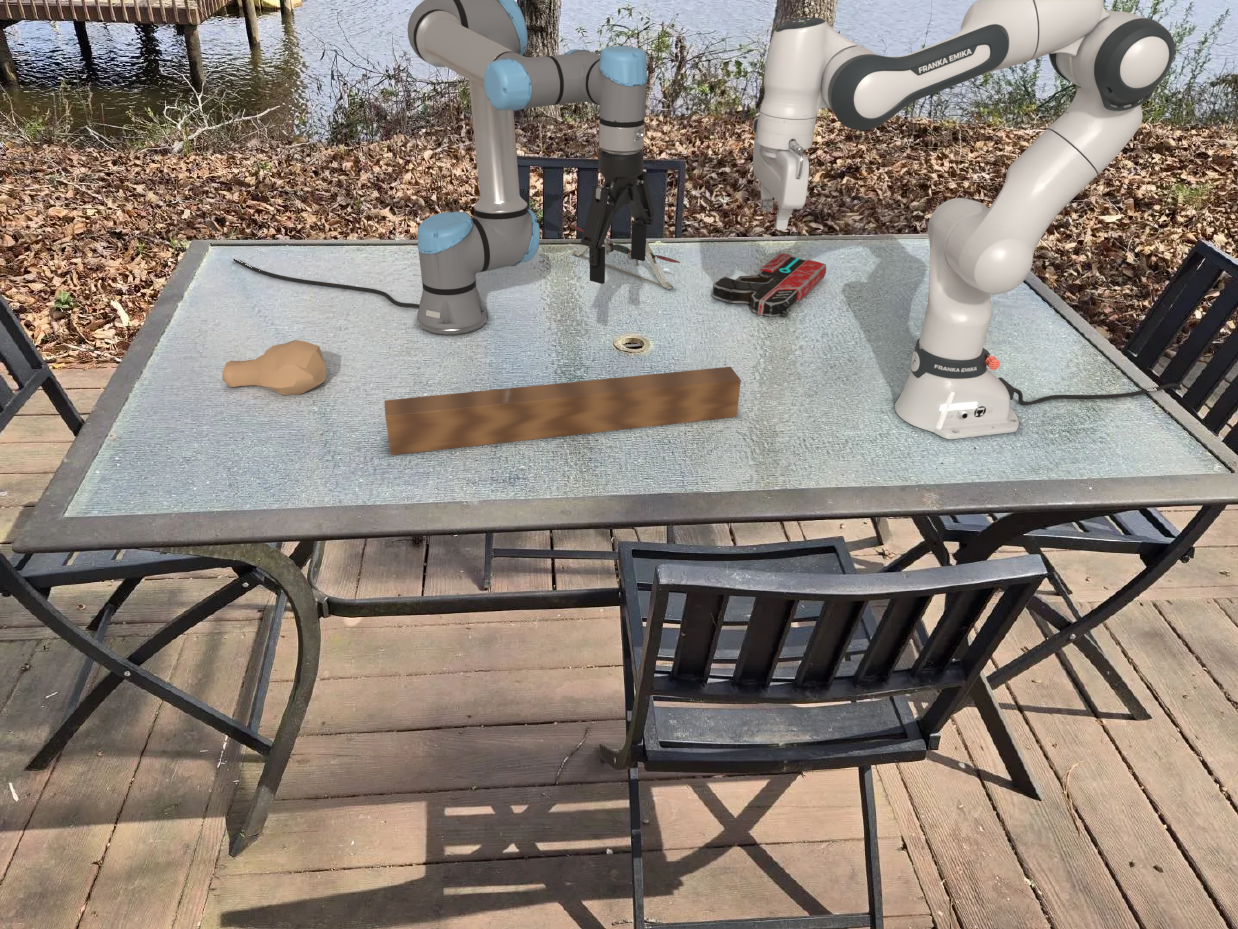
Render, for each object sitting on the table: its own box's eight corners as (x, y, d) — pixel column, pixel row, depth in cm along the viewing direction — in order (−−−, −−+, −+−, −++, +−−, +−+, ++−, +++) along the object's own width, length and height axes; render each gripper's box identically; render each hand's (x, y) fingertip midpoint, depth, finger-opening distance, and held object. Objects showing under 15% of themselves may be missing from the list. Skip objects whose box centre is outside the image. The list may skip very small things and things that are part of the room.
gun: (708, 284, 207) (784, 305, 199) (760, 245, 229) (831, 262, 221) (706, 302, 209) (781, 323, 201) (758, 261, 231) (828, 278, 223)
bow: (681, 290, 215) (684, 251, 209) (676, 292, 214) (679, 253, 208) (570, 250, 236) (570, 213, 230) (565, 252, 235) (565, 215, 229)
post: (390, 455, 151) (385, 415, 147) (389, 439, 156) (384, 400, 151) (736, 417, 165) (741, 379, 161) (726, 402, 169) (730, 366, 165)
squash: (325, 401, 166) (308, 363, 160) (224, 409, 168) (204, 372, 162) (338, 366, 174) (323, 329, 168) (242, 374, 176) (223, 338, 169)
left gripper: (598, 169, 136) (596, 297, 148) (677, 138, 154) (670, 254, 166) (559, 161, 140) (560, 286, 152) (641, 131, 157) (636, 246, 169)
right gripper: (824, 150, 130) (809, 240, 137) (787, 118, 147) (775, 200, 154) (783, 149, 129) (770, 240, 137) (750, 117, 146) (740, 200, 153)
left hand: (618, 270), depth 159 cm, fingers open, 13 cm apart
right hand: (772, 219), depth 146 cm, fingers open, 8 cm apart
